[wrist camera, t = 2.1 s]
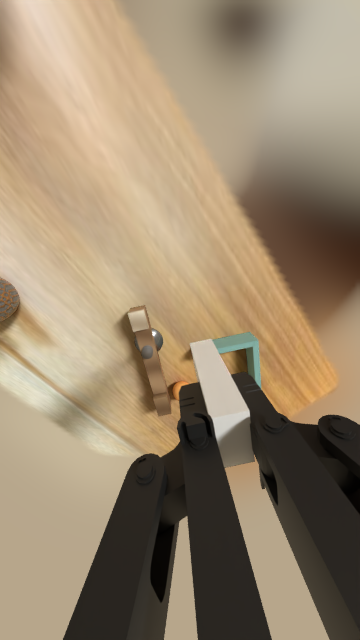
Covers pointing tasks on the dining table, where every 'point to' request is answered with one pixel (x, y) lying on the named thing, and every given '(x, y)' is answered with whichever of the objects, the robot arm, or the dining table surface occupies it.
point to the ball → (178, 389)
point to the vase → (7, 299)
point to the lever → (150, 358)
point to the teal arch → (243, 342)
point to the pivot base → (157, 339)
